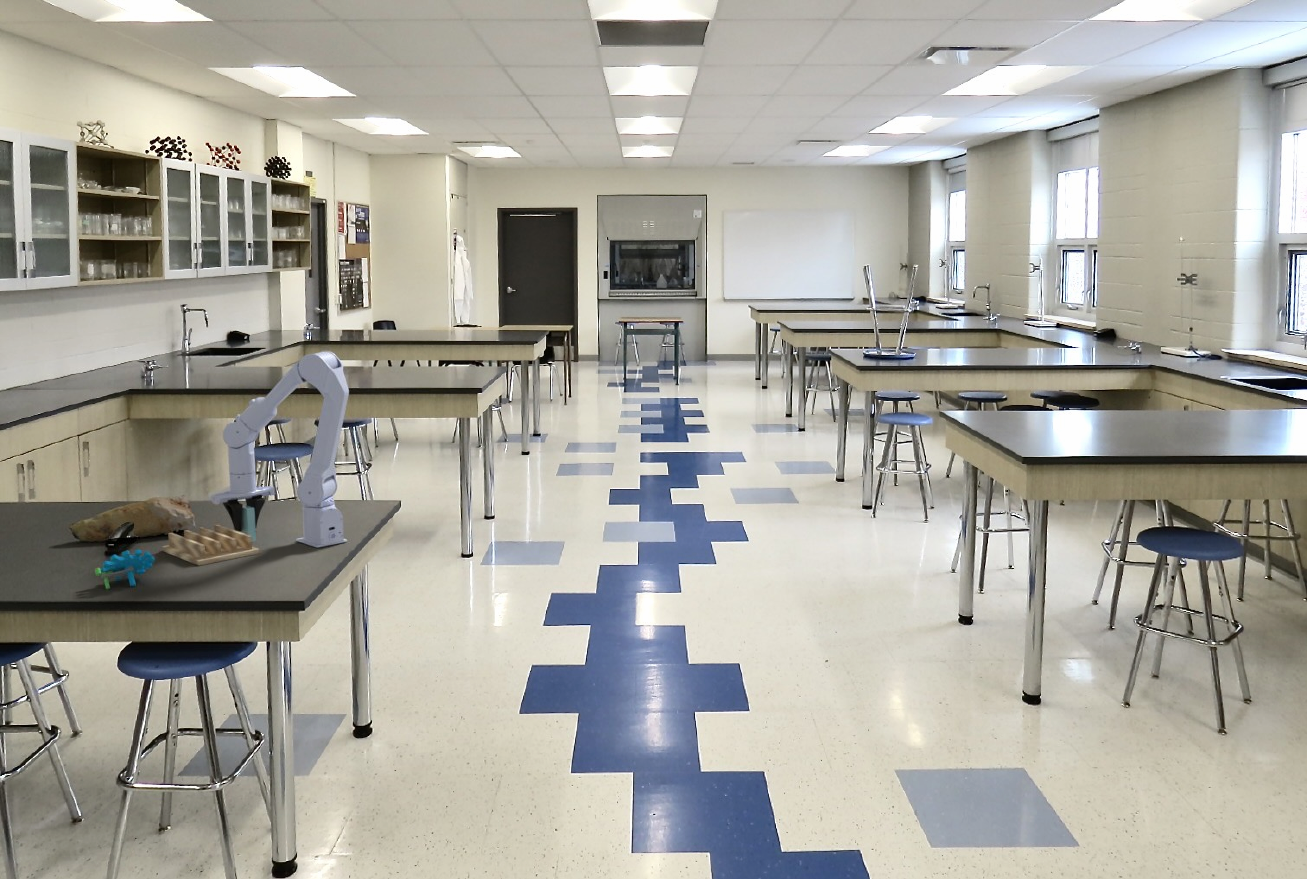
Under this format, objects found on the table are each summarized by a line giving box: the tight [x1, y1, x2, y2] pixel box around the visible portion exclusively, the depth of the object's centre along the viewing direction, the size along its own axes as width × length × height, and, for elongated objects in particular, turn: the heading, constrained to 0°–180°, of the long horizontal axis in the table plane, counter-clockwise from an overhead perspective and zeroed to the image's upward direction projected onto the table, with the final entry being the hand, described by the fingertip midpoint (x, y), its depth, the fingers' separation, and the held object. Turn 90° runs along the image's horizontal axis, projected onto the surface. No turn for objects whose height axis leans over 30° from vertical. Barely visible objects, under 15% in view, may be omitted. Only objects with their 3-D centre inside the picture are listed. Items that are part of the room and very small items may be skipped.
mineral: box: [68, 494, 197, 543], centre depth 264 cm, size 26×9×10 cm
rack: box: [161, 524, 261, 566], centre depth 251 cm, size 18×14×4 cm
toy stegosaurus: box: [94, 549, 156, 590], centre depth 226 cm, size 11×6×10 cm
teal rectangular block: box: [240, 503, 257, 543], centre depth 262 cm, size 6×2×8 cm, turn 47°
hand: (245, 529), depth 262 cm, fingers open, 3 cm apart
